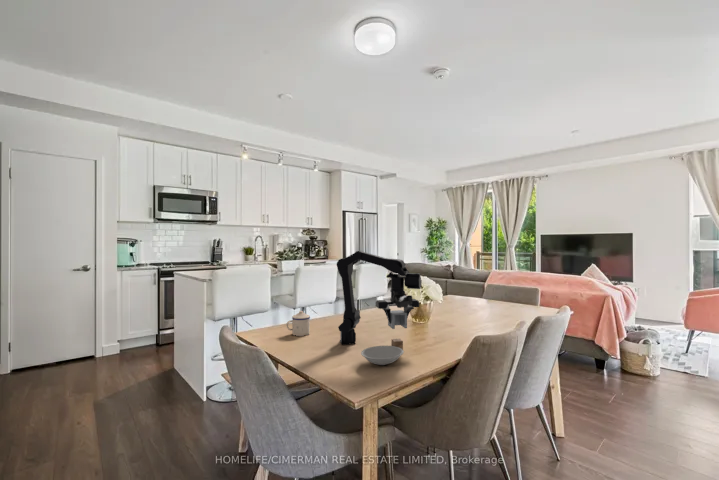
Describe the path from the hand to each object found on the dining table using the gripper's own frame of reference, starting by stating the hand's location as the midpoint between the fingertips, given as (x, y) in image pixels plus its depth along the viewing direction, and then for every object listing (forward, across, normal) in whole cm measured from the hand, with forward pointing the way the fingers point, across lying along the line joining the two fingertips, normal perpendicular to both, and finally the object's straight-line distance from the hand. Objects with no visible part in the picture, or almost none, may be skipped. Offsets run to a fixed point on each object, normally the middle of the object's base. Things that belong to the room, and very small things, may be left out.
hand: (397, 323), depth 153 cm
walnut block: (+12, 0, 0) cm, 12 cm away
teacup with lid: (+12, -42, +32) cm, 54 cm away
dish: (+12, -12, -17) cm, 24 cm away
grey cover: (+2, 0, 0) cm, 2 cm away
